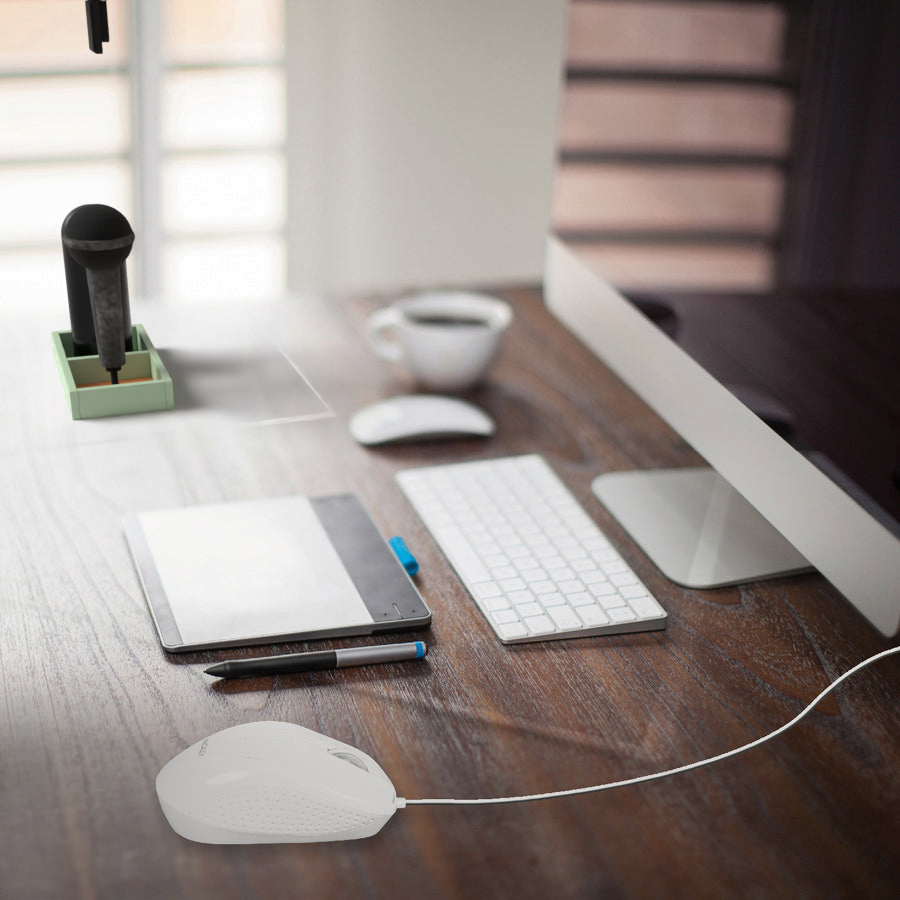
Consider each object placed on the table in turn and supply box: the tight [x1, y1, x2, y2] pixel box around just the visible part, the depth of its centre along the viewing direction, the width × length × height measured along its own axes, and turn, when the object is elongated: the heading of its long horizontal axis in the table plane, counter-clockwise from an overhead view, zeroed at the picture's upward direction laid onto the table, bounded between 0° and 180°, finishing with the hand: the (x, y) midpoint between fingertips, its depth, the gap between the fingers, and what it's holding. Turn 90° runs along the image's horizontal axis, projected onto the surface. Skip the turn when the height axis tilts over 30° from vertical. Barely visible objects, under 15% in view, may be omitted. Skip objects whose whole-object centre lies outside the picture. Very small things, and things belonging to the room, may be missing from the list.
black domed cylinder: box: [60, 203, 134, 357], centre depth 124 cm, size 6×6×18 cm
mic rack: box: [50, 323, 175, 421], centre depth 123 cm, size 10×19×4 cm, turn 23°
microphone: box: [63, 203, 136, 385], centre depth 116 cm, size 7×7×20 cm
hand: (34, 52), depth 91 cm, fingers open, 9 cm apart
